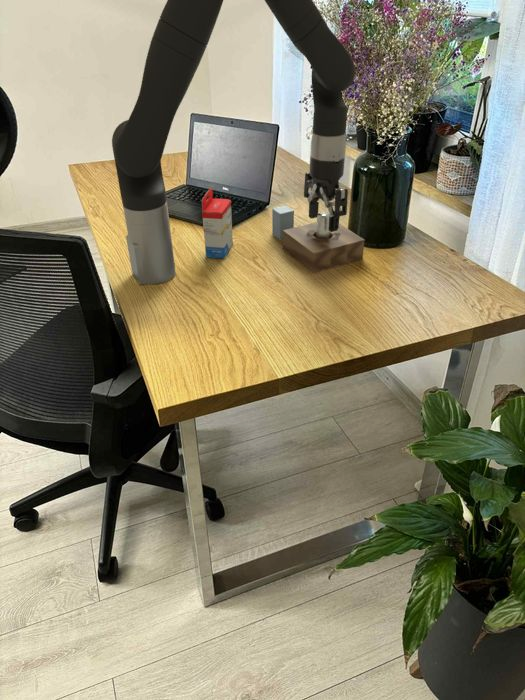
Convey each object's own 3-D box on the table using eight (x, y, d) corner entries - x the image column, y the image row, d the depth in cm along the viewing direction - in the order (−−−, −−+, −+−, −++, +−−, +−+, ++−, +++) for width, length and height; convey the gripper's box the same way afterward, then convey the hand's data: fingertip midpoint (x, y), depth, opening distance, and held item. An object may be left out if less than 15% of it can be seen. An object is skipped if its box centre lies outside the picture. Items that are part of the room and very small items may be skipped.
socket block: (312, 272, 125) (313, 253, 122) (282, 249, 135) (282, 230, 132) (362, 259, 130) (364, 239, 127) (330, 236, 140) (331, 218, 137)
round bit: (319, 258, 131) (322, 218, 125) (312, 252, 133) (314, 214, 127) (331, 255, 132) (333, 216, 126) (323, 249, 134) (326, 211, 128)
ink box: (225, 259, 131) (221, 200, 122) (205, 257, 132) (200, 199, 123) (233, 243, 137) (230, 187, 129) (214, 242, 138) (210, 185, 129)
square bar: (279, 239, 139) (280, 213, 135) (272, 234, 142) (272, 208, 138) (293, 236, 140) (293, 210, 136) (285, 230, 143) (286, 205, 139)
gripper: (296, 147, 121) (293, 216, 131) (331, 166, 111) (326, 239, 121) (324, 143, 124) (320, 210, 134) (361, 160, 114) (353, 232, 124)
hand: (323, 224), depth 128 cm, fingers open, 8 cm apart
